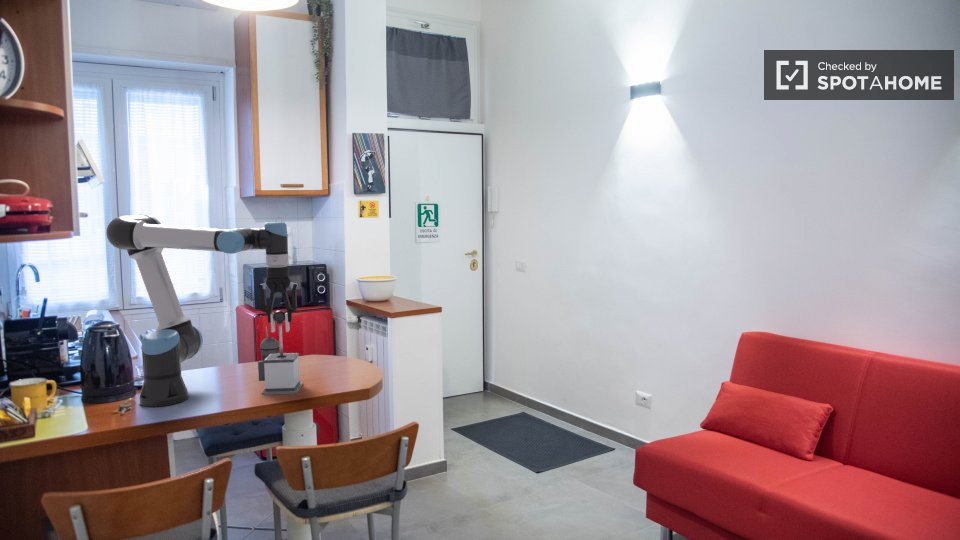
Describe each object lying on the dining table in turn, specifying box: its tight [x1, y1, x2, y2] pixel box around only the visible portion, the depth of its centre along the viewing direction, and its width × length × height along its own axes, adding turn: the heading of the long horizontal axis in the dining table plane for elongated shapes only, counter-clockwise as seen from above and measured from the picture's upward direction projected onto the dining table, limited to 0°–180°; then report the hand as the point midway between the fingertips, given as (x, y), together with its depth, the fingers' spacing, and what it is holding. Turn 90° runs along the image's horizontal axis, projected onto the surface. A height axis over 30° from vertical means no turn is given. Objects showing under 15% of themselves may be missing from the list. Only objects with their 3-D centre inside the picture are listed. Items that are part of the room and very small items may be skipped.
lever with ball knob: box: [273, 309, 287, 358], centre depth 243 cm, size 8×8×20 cm
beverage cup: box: [259, 325, 280, 361], centre depth 261 cm, size 7×7×20 cm
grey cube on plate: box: [257, 352, 304, 396], centre depth 245 cm, size 14×12×12 cm
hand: (280, 331), depth 243 cm, fingers closed on lever with ball knob, 4 cm apart
